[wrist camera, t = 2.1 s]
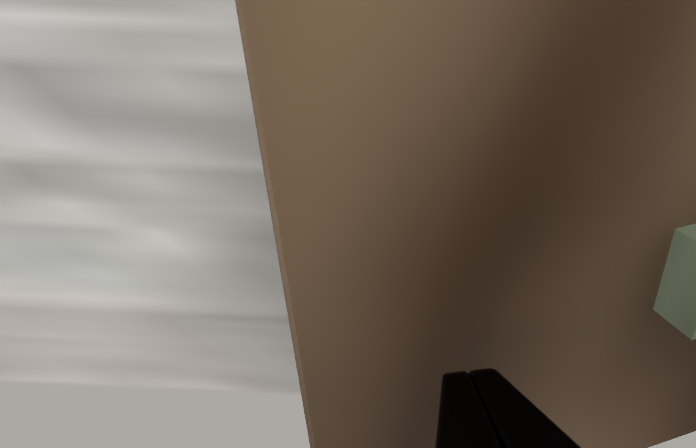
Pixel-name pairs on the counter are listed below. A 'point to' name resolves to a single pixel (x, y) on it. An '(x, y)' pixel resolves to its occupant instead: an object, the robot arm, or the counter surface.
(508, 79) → the instrument deck
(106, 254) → the counter surface
